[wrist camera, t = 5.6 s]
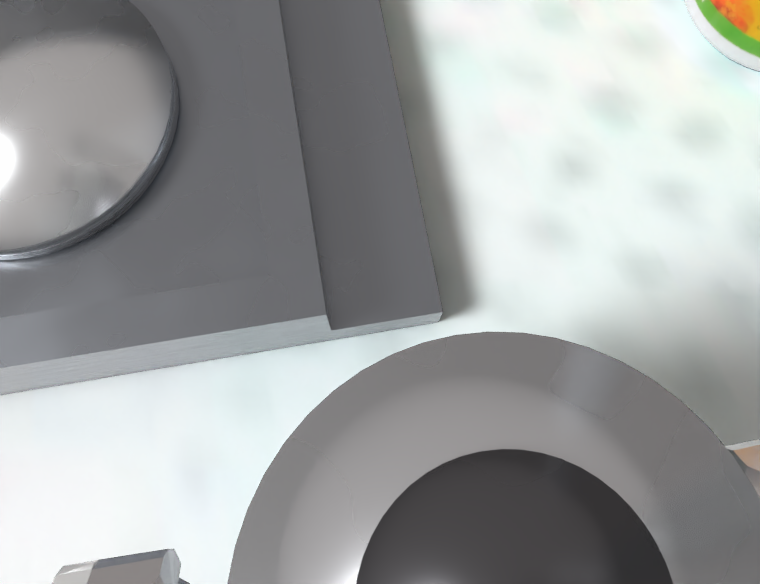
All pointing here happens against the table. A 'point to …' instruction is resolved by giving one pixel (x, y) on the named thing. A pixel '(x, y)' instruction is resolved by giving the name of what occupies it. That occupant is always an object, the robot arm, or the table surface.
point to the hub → (501, 477)
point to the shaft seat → (199, 184)
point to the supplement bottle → (730, 27)
